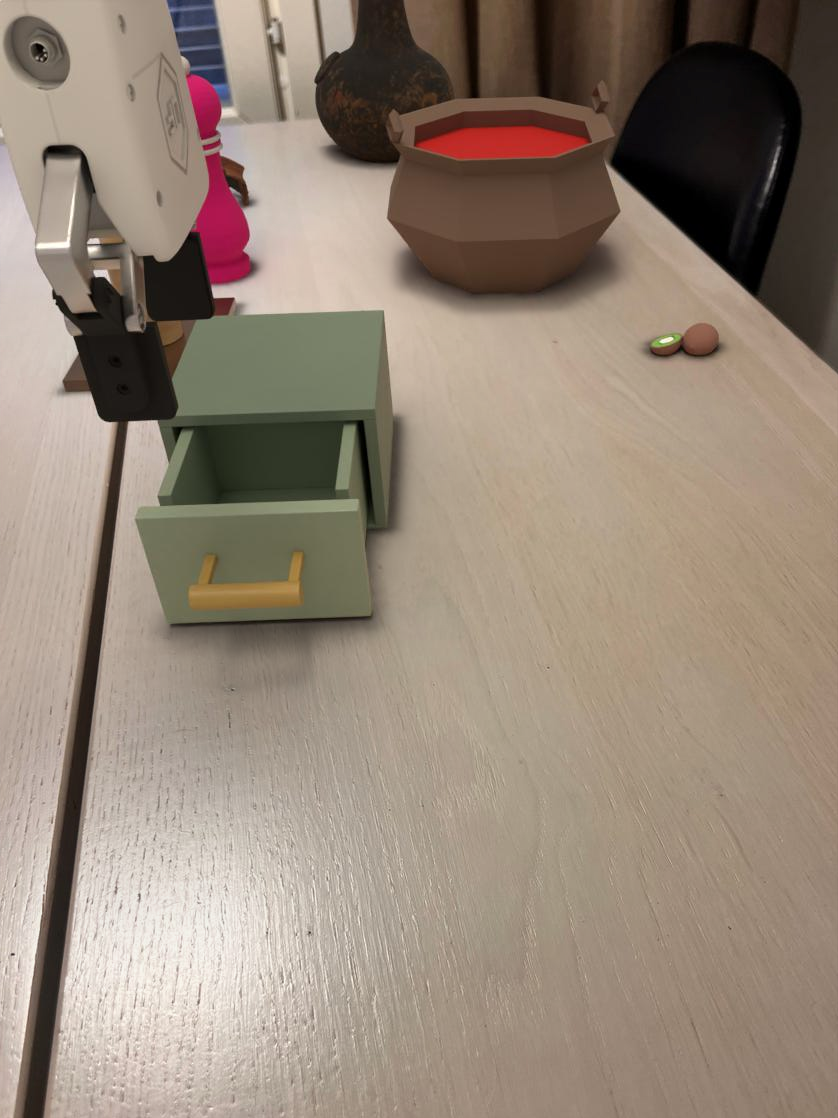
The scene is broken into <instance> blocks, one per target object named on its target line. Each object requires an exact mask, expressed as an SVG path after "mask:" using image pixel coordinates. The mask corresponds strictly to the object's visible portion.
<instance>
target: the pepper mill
mask: <svg viewBox="0 0 838 1118" xmlns="http://www.w3.org/2000/svg"><path fill="white" fill-rule="evenodd" d="M181 59H182V63H183V67H184V71H185V75H186V80H187V84H188V88H189V92H190V96H191V100H192V105H193V109H194V113H195V117H196V121H197V126H198V130H199V134H200V138H201V142H202V147H203V151H204V155H205V160H206V164H207V169H208V174H209V189H208V193H207V196H206V199H205V201H204V203H203V205H202V208H201V210H200V212H199V214H198V216H197V218H196V229H194V230H190V232H200V236H201V241H202V246H203V251H204V255H205V260H206V265H207V269H208V274H209V279H210V283H211V285H215V284H218V285H219V284H227V283H232V282H235V281H238V280H241V279H243V278H245V277H246V276H248V275H249V274H250V273H251V271H252V266H251V265H252V264H251V260H250V256H249V254H248V253H247V252H245V251H244V250H245V248H246V247H247V245H248V243H249V241H250V237H251V231H250V226H249V223H248V220H247V219H248V218H247V217H246V215H245V212H244V211H243V209H242V207H241V205H240V204H239V202H238V200H237V199H236V197H235V194H234V193H233V192H232V190H231V187H229V186H228V184H227V181H226V179H225V177H224V173H223V169H222V165H221V159H220V155H221V151H222V150H223V147H224V144H223V142H222V140H221V137H222V133H221V131H219V130H217V127H218V125H219V123H220V121H221V117H222V114H223V111H222V102H221V99H220V97H219V94H218V92H217V89H216V88H215V87H214V86H213V85H212V84H211V82H209V81H208V80H207V79H205V78H203V77H201V76H199V75H196V74H192V73H191V65H190V62H189V60H188V59H187V58H186V57H185V56H183V55H181ZM190 73H191V74H190Z"/></svg>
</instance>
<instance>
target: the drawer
mask: <svg viewBox="0 0 838 1118" xmlns="http://www.w3.org/2000/svg"><path fill="white" fill-rule="evenodd" d="M369 493H370V486H369V477H368V468H367V459H366V450H365V442H364V433H363V424H362V420H349V421H321V422H293V423H265V424H237V425H209V426H183V428H182V430H181V433H180V436H179V439H178V441H177V444H176V447H175V449H174V452H173V455H172V457H171V460H170V463H169V462H168V466H167V469H166V471H165V474H164V476H163V479H162V482H161V485H160V487H159V490H158V492H157V495H156V497H157V499H158V503H159V505H156V506H155V505H154V506H153V505H152V506H151V505H149V506H139V507H138V508H137V512H136V514H135V517H134V522H135V524H136V528H137V531H138V534H139V537H140V540H141V544H142V548H143V550H144V554H145V557H146V560H147V564H148V566H149V567H148V568H149V569H150V573H151V575H152V579H153V583H154V585H155V589H156V592H157V594H158V599H159V602H160V604H161V608H162V611H163V615H164V618H165V620H166V623H167V625H169V624H171V625H173V624H196V623H197V624H199V623H223V622H224V623H225V622H226V623H227V622H248V621H249V622H250V621H272V620H274V621H275V620H276V621H277V620H295V619H296V620H301V619H327V618H331V619H332V618H355V617H356V618H357V617H371V616H372V610H373V609H372V608H373V601H372V600H373V599H372V592H371V585H370V584H371V583H370V577H369V569H368V568H369V567H368V561H367V552H366V538H367V529H366V528H367V516H368V505H369Z"/></svg>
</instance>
